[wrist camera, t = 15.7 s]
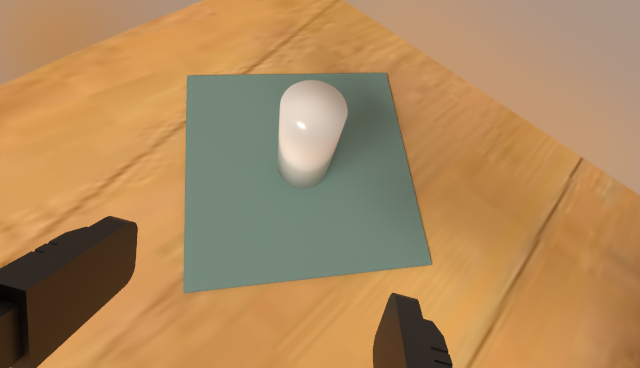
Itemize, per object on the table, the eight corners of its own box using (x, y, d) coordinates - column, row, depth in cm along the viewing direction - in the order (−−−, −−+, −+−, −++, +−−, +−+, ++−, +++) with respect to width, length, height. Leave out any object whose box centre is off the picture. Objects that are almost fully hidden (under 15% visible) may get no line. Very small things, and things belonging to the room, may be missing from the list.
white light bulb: (323, 142, 32) (342, 79, 24) (330, 186, 31) (352, 136, 22) (275, 144, 31) (277, 80, 23) (279, 190, 30) (283, 139, 22)
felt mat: (385, 74, 37) (386, 72, 36) (430, 264, 29) (431, 264, 29) (187, 77, 33) (187, 75, 33) (184, 293, 26) (183, 292, 26)
